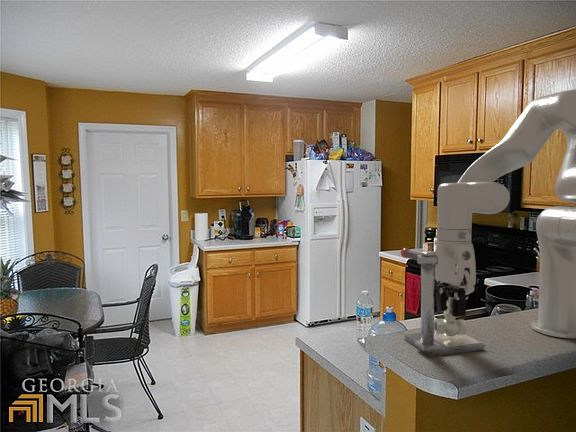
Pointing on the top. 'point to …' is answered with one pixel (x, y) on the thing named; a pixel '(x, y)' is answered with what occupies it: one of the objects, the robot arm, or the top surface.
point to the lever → (419, 257)
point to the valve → (449, 316)
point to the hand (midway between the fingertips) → (452, 312)
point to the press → (427, 337)
